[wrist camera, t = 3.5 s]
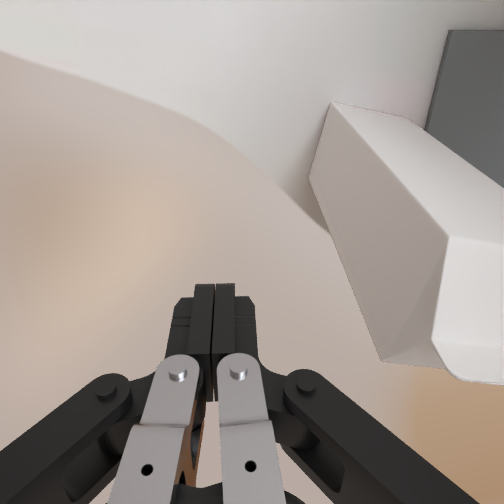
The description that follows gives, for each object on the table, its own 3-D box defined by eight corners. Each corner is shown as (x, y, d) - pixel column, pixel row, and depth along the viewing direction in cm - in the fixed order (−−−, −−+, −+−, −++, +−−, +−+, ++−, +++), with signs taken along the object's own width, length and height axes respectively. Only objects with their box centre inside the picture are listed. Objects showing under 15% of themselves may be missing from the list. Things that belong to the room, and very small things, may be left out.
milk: (330, 100, 28) (506, 294, 10) (408, 117, 29) (707, 325, 11) (306, 179, 32) (407, 437, 13) (378, 192, 32) (567, 453, 14)
